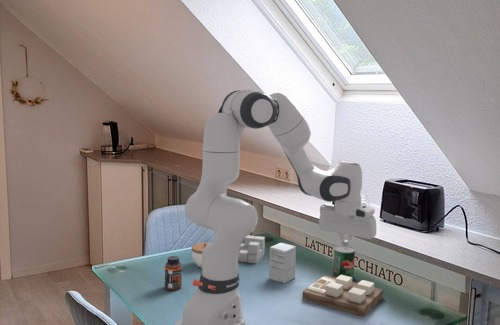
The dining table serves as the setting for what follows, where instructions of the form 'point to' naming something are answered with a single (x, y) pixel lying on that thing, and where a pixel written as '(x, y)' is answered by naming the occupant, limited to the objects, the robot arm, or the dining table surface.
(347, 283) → the button far left
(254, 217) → the robot arm
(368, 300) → the button board
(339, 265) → the canned tomato
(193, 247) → the lidded jar
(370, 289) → the button far right
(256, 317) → the dining table surface
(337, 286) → the button near left
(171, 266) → the supplement bottle
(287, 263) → the supplement box
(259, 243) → the puzzle cube
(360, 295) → the button near right
